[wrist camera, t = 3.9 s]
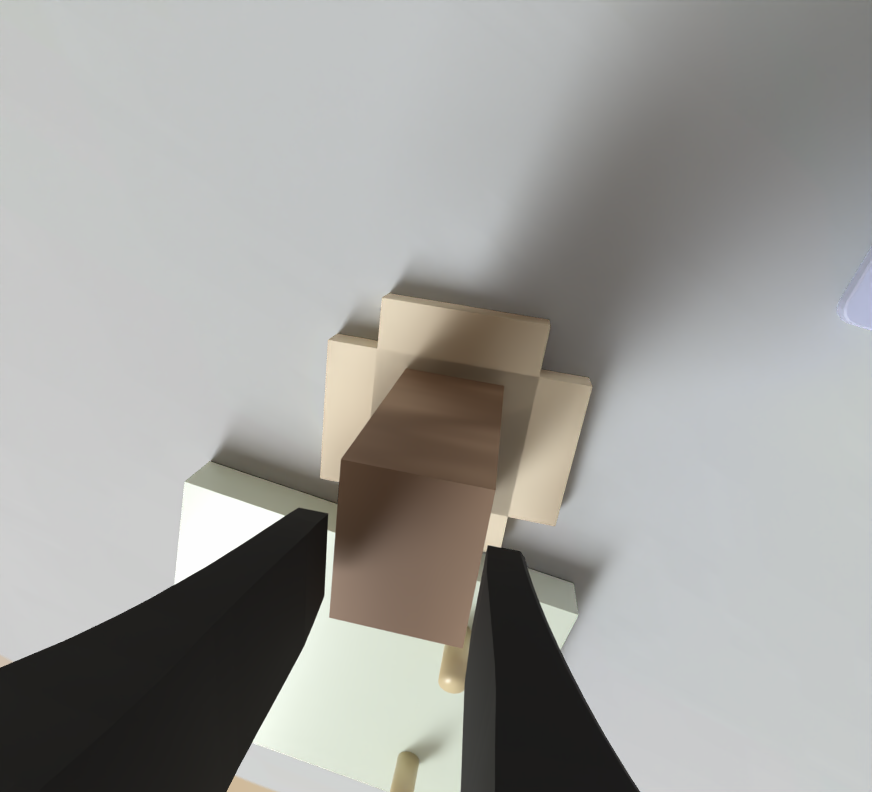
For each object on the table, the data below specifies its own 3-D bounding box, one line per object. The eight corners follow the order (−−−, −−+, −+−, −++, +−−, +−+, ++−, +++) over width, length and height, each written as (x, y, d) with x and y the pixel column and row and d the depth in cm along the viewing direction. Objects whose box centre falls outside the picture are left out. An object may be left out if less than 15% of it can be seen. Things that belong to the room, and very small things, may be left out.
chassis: (573, 583, 18) (586, 666, 15) (473, 783, 22) (466, 881, 19) (209, 461, 18) (143, 514, 15) (183, 679, 23) (128, 757, 20)
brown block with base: (600, 327, 15) (665, 417, 8) (543, 545, 18) (558, 739, 11) (342, 284, 16) (215, 337, 9) (327, 500, 18) (224, 657, 12)
